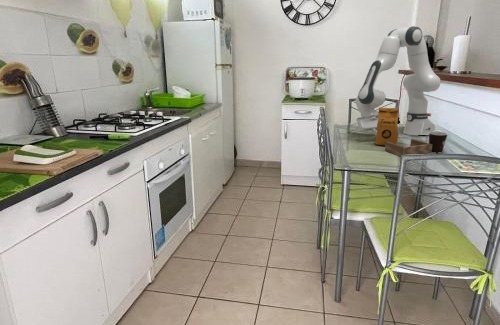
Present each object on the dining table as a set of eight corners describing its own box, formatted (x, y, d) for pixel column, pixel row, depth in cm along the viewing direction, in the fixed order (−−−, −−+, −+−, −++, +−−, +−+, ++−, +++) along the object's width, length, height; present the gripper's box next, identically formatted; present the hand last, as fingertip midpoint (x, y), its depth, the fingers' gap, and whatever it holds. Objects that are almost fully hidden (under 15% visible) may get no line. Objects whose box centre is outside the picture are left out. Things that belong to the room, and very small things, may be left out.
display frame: (411, 147, 188) (412, 138, 187) (431, 153, 176) (432, 144, 174) (384, 150, 183) (385, 141, 182) (403, 157, 170) (404, 147, 169)
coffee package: (396, 147, 188) (400, 109, 182) (373, 145, 194) (376, 108, 187) (398, 144, 196) (402, 107, 190) (376, 142, 202) (379, 106, 196)
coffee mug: (435, 154, 174) (438, 135, 171) (422, 150, 182) (425, 132, 179) (452, 152, 177) (455, 134, 174) (439, 148, 185) (442, 130, 182)
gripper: (358, 114, 201) (366, 133, 195) (385, 112, 206) (395, 130, 200) (353, 120, 206) (361, 139, 200) (380, 118, 212) (389, 136, 206)
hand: (378, 135), depth 200 cm, fingers closed
